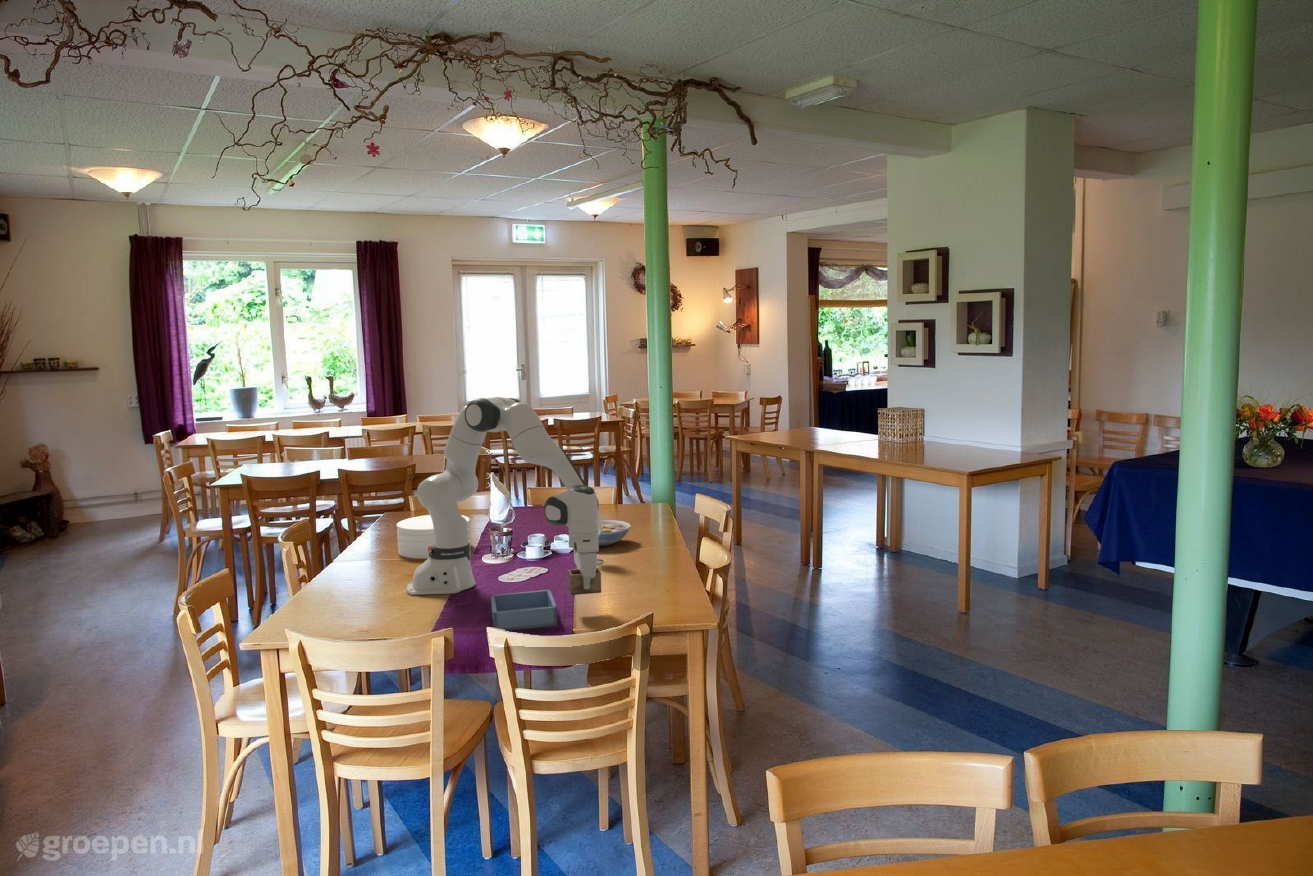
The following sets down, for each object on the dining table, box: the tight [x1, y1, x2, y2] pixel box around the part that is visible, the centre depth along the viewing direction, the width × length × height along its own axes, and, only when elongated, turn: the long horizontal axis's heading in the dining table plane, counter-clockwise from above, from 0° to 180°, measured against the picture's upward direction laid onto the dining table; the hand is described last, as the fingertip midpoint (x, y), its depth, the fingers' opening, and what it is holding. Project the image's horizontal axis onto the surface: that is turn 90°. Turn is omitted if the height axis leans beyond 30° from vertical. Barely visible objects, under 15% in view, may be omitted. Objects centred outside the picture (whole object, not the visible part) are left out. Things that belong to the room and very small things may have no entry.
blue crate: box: [490, 589, 559, 631], centre depth 258 cm, size 18×18×6 cm
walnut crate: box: [567, 567, 602, 596], centre depth 261 cm, size 9×6×6 cm, turn 103°
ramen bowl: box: [598, 519, 632, 547], centre depth 346 cm, size 25×23×8 cm
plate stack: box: [396, 514, 472, 559], centre depth 345 cm, size 28×28×12 cm
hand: (584, 584), depth 261 cm, fingers closed on walnut crate, 6 cm apart
